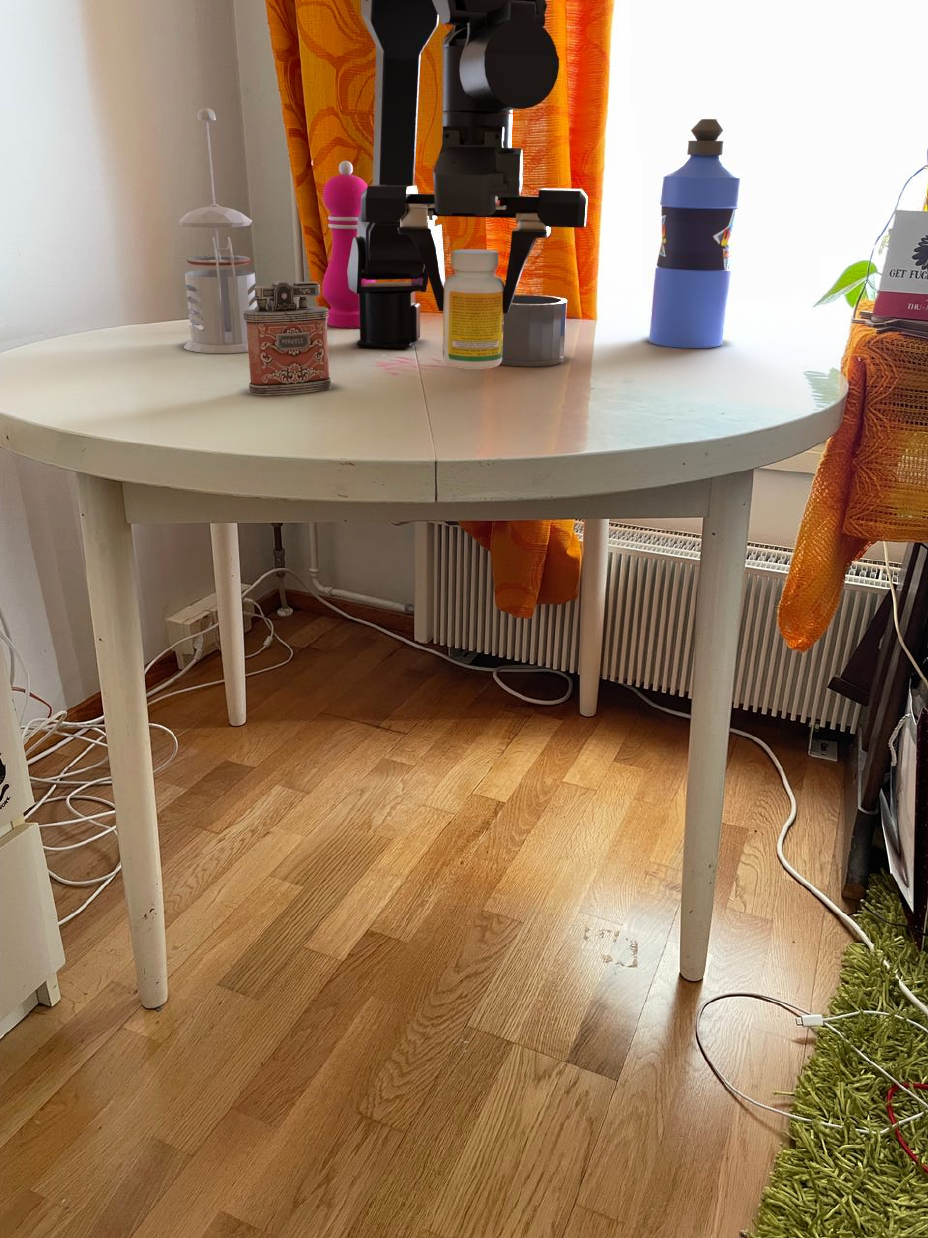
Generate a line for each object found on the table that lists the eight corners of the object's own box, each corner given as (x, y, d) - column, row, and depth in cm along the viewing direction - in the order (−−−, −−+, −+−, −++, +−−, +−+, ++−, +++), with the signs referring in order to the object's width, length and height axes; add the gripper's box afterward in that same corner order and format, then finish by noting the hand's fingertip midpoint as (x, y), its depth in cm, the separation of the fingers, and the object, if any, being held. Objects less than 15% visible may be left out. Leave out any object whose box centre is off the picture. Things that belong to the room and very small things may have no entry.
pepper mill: (368, 329, 129) (364, 160, 120) (316, 327, 130) (308, 159, 122) (384, 321, 135) (381, 161, 127) (333, 319, 137) (327, 160, 128)
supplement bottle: (433, 360, 90) (433, 248, 86) (485, 356, 92) (488, 247, 88) (458, 371, 86) (460, 254, 82) (513, 367, 88) (517, 252, 84)
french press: (262, 337, 122) (246, 110, 112) (276, 353, 112) (260, 106, 102) (180, 340, 120) (156, 108, 109) (187, 357, 110) (161, 103, 99)
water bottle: (640, 344, 122) (660, 117, 111) (656, 333, 130) (676, 120, 119) (716, 350, 119) (744, 117, 108) (728, 339, 127) (755, 120, 116)
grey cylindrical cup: (481, 364, 109) (482, 303, 106) (490, 350, 116) (491, 293, 114) (561, 367, 108) (565, 305, 105) (565, 353, 115) (568, 295, 113)
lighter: (255, 397, 92) (247, 285, 88) (245, 389, 95) (236, 280, 91) (336, 389, 96) (332, 281, 92) (324, 382, 99) (319, 277, 94)
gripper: (341, 107, 74) (348, 321, 81) (590, 111, 72) (576, 330, 79) (373, 113, 84) (377, 303, 91) (592, 116, 82) (580, 310, 89)
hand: (473, 311), depth 87 cm, fingers closed on supplement bottle, 5 cm apart
